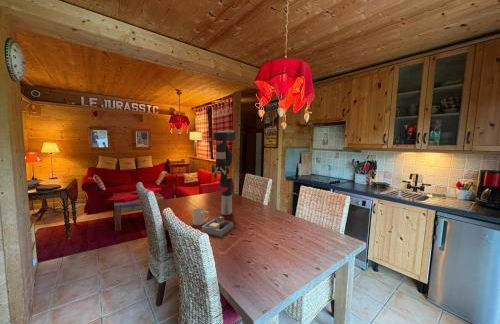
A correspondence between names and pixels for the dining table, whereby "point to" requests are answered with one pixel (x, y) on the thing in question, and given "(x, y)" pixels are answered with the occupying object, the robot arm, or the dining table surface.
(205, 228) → the crate
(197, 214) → the mug
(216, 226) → the lid
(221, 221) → the tin
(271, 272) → the dining table surface
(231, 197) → the robot arm
